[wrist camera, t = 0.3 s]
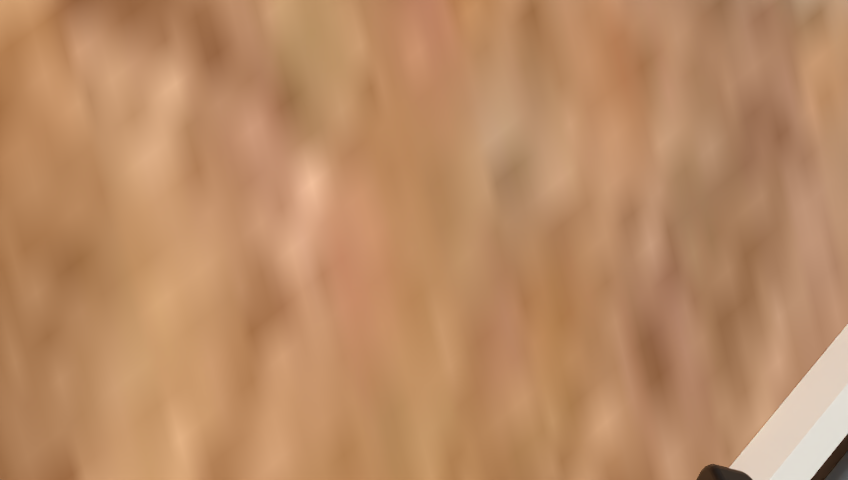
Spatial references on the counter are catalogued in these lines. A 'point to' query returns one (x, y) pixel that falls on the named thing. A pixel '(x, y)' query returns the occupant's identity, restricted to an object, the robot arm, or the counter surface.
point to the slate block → (840, 470)
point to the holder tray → (803, 422)
